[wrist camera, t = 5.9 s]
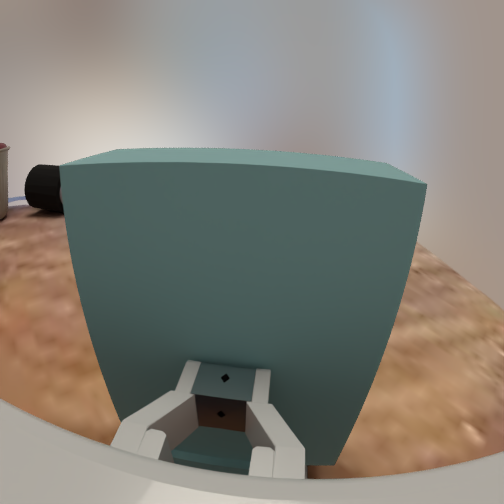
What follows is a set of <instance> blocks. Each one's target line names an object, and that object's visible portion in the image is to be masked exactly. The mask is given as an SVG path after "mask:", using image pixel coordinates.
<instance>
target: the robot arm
mask: <svg viewBox="0 0 504 504" xmlns="http://www.w3.org/2000/svg"><path fill="white" fill-rule="evenodd" d="M270 377H271V370H270V369H258V368H257V369H256V368H246V367H236V366H226V365H219V364H213V363H207V362H199V361H193V360H188V361H187V362H186V364H185V366H184V369H183V371H182V374H181V376H180V379H179V382H178V384H177V387H176V389H175V391H172V390H171V391H169V392H168V393H166V394H164V395H163V396H161V397H160V398H158V399H156V400H155V401H153V402H152V403H150V404H148V405H147V406H145V407H144V408H142V409H140V410H139V411H137V412H135V413H134V414H132V415H130V416H129V417H127V418H126V419H124V420H123V421H122V423H121V425H120V427H119V429H118V431H117V433H116V435H115V437H114V439H113V441H112V443H111V445H110V446H109V445H106V444H103V443H100V442H97V441H94V440H91V439H88V438H86V437H83V436H80V435H78V434H75V433H73V432H70V431H68V430H65V429H63V428H60V427H58V426H56V425H53V424H51V423H49V422H47V421H44V420H42V419H40V418H38V417H36V416H34V415H31V414H29V413H27V412H25V411H23V410H21V409H19V408H17V407H15V406H14V405H12V404H10V403H8V402H6V401H4V400H2V399H1V398H0V504H504V451H502V452H499V453H496V454H493V455H489V456H486V457H482V458H479V459H475V460H471V461H467V462H463V463H459V464H454V465H450V466H445V467H440V468H435V469H429V470H424V471H418V472H411V473H404V474H396V475H387V476H377V477H364V478H347V479H305V448H304V447H303V445H302V444H301V443H300V441H299V440H298V439H297V437H296V436H295V435H294V433H293V432H292V431H291V429H290V428H289V427H288V425H287V424H286V422H285V421H284V420H283V418H282V417H281V416H280V414H279V413H278V411H277V410H276V409H275V407H274V406H273V404H268V399H269V388H270ZM198 426H204V427H212V428H220V429H226V430H233V431H240V432H245V434H246V436H247V438H248V440H249V442H250V444H251V445H252V447H253V450H252V456H251V462H250V469H249V475H241V474H233V473H225V472H218V471H212V470H206V469H200V468H195V467H189V466H184V465H180V464H175V463H174V460H173V456H172V453H171V451H172V450H173V449H174V448H175V447H176V446H178V445H179V444H180V443H181V442H182V441H183V440H184V439H186V438H187V437H188V436H189V435H190V434H191V433H192V432H194V431H195V430H196V429H197V428H198Z"/></svg>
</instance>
